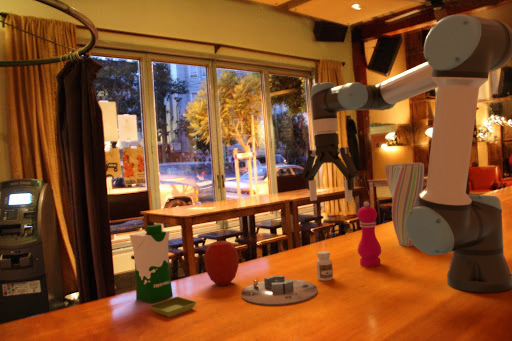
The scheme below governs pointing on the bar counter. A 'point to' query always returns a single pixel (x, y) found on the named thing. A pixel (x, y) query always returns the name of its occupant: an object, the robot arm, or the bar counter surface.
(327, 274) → the pill bottle
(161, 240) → the milk carton
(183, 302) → the olive square tray
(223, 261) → the apple
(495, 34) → the robot arm
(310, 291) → the flange plate
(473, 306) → the bar counter surface
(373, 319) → the bar counter surface
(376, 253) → the pepper mill
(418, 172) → the vase
